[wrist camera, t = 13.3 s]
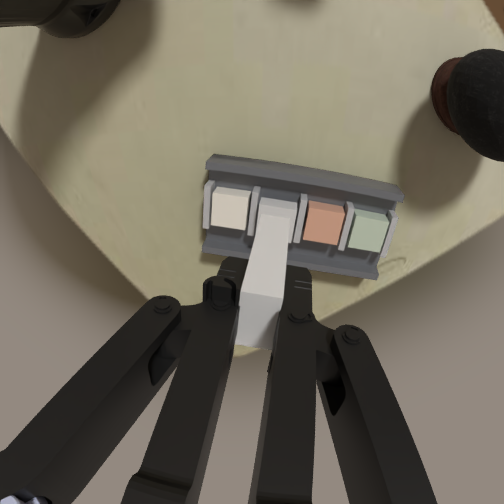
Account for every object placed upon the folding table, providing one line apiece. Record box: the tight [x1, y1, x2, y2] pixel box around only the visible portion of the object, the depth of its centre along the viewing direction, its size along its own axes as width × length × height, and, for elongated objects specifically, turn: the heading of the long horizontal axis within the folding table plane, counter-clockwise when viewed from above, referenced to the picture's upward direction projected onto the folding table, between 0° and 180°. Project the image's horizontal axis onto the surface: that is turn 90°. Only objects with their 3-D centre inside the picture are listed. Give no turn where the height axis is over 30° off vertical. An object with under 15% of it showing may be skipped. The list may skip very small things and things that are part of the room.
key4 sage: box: [347, 209, 389, 253], centre depth 41 cm, size 4×4×2 cm
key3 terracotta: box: [303, 200, 345, 245], centre depth 41 cm, size 4×4×2 cm
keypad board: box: [202, 154, 405, 280], centre depth 43 cm, size 25×13×4 cm, turn 84°
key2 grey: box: [256, 197, 297, 243], centre depth 40 cm, size 4×4×2 cm
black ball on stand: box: [431, 49, 504, 162], centre depth 26 cm, size 13×13×15 cm
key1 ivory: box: [211, 187, 251, 230], centre depth 42 cm, size 4×4×2 cm
